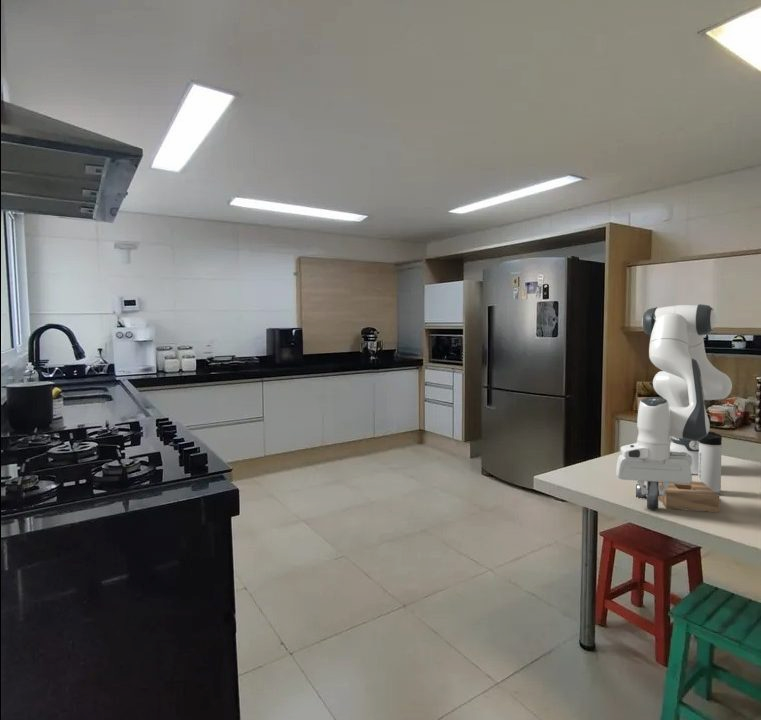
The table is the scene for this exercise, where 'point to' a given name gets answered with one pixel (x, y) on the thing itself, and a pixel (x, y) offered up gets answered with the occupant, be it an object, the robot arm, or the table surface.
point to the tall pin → (652, 495)
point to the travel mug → (710, 461)
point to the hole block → (690, 497)
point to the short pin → (639, 491)
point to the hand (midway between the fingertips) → (652, 495)
